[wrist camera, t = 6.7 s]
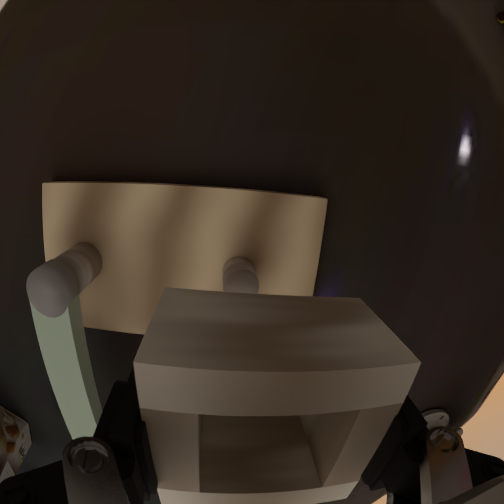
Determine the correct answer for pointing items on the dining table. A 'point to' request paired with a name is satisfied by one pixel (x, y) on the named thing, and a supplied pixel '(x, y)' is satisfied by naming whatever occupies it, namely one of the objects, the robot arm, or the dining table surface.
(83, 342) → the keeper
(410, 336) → the dining table surface
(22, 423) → the coffee box
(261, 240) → the pintle board
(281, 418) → the collar
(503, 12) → the decorative lantern
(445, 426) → the robot arm
